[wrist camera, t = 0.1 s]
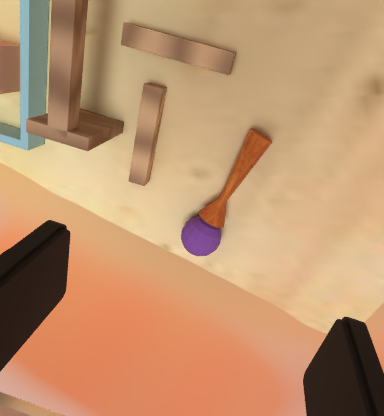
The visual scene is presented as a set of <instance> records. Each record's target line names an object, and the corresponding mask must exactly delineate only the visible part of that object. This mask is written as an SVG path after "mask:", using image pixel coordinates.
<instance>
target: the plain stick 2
mask: <svg viewBox="0 0 384 416" xmlns="http://www.w3.org/2000/svg"><path fill="white" fill-rule="evenodd" d="M121 45H124V46H127V47H131V48H134V49H138V50H142V51H145V52H149V53H152V54H156V55H159V56H163V57H166V58H170V59H174V60H177V61H181V62H184V63H188V64H191V65H195V66H198V67H202V68H206V69H209V70H213V71H216V72H220V73H223V74H227V75H229V74H230V73H231V69H232V66H233V62H234V58H235V55H236V53H234V52H230V51H227V50H223V49H219V48H216V47H212V46H209V45H205V44H201V43H198V42H194V41H190V40H187V39H183V38H179V37H176V36H172V35H169V34H165V33H161V32H158V31H154V30H150V29H147V28H143V27H140V26H136V25H132V24H128V23H124V25H123V33H122V41H121Z"/></svg>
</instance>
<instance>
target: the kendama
mask: <svg viewBox="0 0 384 416" xmlns="http://www.w3.org/2000/svg"><path fill="white" fill-rule="evenodd" d="M271 143H272V141H271V140H270V139H269V138H267V137H266V136H264V135H262V134H260V133H259V132H257V131H255V130H252V129H250V131H249V133H248V135H247V137H246V140H245V142H244V144H243V146H242V149H241V151H240V153H239V155H238V158H237V160H236V162H235V164H234V167H233V169H232V171H231V173H230V176H229V178H228V180H227V182H226V185H225V187H224V189H223V191H222V194H221V196H220V198H218V199H217V200H215V201H214V202H212V203H211V204H209V205H208V206H206V207H205V208H203V209H202V210H200V211H199V216H198V217H194V218H192V219H190V220H189V221H187V222H186V224H185V226H184V228H183V229H182V233H181V240H182V243H183V245H184V247H185V249H186V250H187V251H188V252H189V253H191V254H193V255H196V256H207V255H209V254H210V253H212V252H214V251H215V250H216V249H217V248H218V246H219V244H220V240H221V231H220V228H222V227H224V220H225V209H226V201H227V200H228V199H229V197H230V196H231V195H232V193H233V192H234V191H235V189H236V188H237V187H238V186H239V184H240V183H241V182H242V180H243V179H244V178H245V177H246V175H247V174H248V173H249V171H250V170H251V169H252V168H253V166H254V165H255V164H256V162H257V161H258V160H259V158H260V157H261V156H262V155H263V153H264V152H265V151H266V149H267V148H268V147H269V146H270V144H271Z"/></svg>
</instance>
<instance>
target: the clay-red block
mask: <svg viewBox="0 0 384 416" xmlns="http://www.w3.org/2000/svg"><path fill="white" fill-rule="evenodd" d="M16 91H20V45H16V44H13V43H9V42H6V41H2V40H0V94H3V93H9V92H16Z"/></svg>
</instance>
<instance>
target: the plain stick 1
mask: <svg viewBox="0 0 384 416" xmlns="http://www.w3.org/2000/svg"><path fill="white" fill-rule="evenodd" d="M166 89H167V87H163V86H160V85H156V84H152V83H146V84H144V87H143V93H142V99H141V106H140V112H139V118H138V125H137V131H136V137H135V144H134V150H133V156H132V163H131V169H130V176H129V181H130V182H133V183H136V184H139V185H143V186H145V185H146V184H147V183H148V182H149V179H150V174H151V168H152V163H153V158H154V153H155V147H156V142H157V137H158V131H159V126H160V121H161V115H162V110H163V105H164V99H165V94H166Z"/></svg>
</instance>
